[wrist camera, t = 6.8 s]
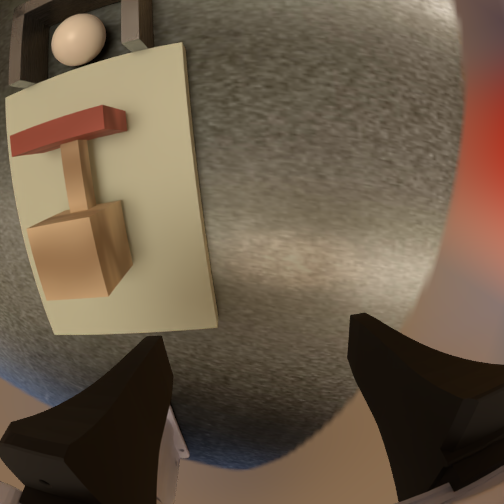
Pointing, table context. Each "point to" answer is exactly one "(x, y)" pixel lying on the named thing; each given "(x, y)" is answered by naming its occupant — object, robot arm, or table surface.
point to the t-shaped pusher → (77, 210)
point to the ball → (78, 39)
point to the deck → (126, 191)
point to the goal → (55, 11)
